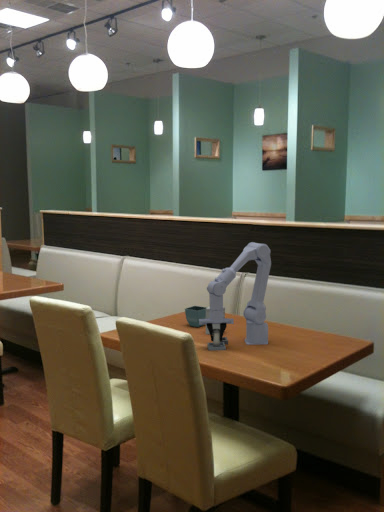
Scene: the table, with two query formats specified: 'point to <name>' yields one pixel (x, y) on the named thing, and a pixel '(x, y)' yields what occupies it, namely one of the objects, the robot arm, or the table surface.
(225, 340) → the socket
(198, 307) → the flower pot
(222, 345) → the tray
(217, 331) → the fuse
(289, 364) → the table surface
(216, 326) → the supplement box
